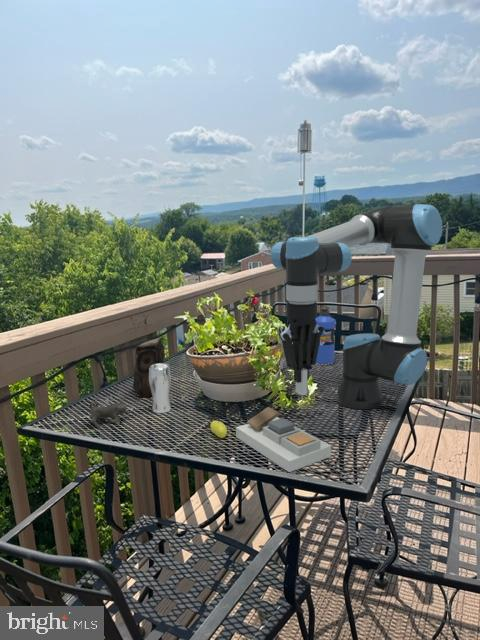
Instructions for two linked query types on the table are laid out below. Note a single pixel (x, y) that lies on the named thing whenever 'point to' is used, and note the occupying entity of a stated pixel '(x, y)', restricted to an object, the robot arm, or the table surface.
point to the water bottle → (326, 337)
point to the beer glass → (160, 387)
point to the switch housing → (283, 446)
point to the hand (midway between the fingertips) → (301, 393)
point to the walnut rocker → (263, 418)
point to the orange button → (300, 439)
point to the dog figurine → (107, 412)
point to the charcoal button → (281, 426)
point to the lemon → (218, 429)
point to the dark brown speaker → (146, 365)
